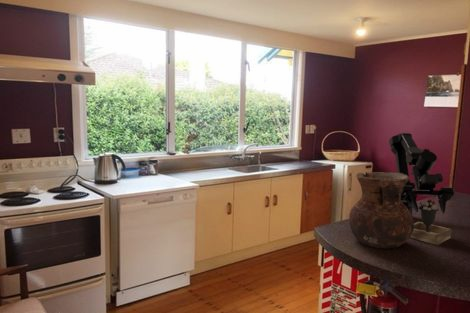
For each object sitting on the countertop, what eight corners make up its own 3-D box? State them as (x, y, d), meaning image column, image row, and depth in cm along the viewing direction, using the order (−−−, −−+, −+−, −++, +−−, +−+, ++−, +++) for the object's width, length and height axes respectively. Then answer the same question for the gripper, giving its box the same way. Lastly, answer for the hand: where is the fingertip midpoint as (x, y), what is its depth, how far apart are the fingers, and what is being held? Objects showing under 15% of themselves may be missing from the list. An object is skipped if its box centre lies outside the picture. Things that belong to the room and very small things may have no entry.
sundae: (441, 235, 137) (443, 196, 135) (428, 238, 134) (430, 198, 132) (426, 230, 143) (428, 192, 141) (413, 232, 140) (415, 194, 138)
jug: (335, 235, 138) (339, 170, 135) (379, 230, 146) (383, 168, 143) (377, 257, 118) (382, 181, 115) (426, 249, 125) (432, 178, 122)
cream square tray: (404, 236, 139) (404, 227, 139) (417, 230, 147) (418, 221, 146) (437, 245, 130) (438, 235, 129) (450, 238, 138) (451, 229, 137)
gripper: (402, 164, 140) (410, 199, 131) (454, 166, 138) (466, 202, 128) (395, 181, 149) (401, 214, 139) (444, 183, 146) (454, 217, 137)
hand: (430, 212), depth 136 cm, fingers open, 9 cm apart
